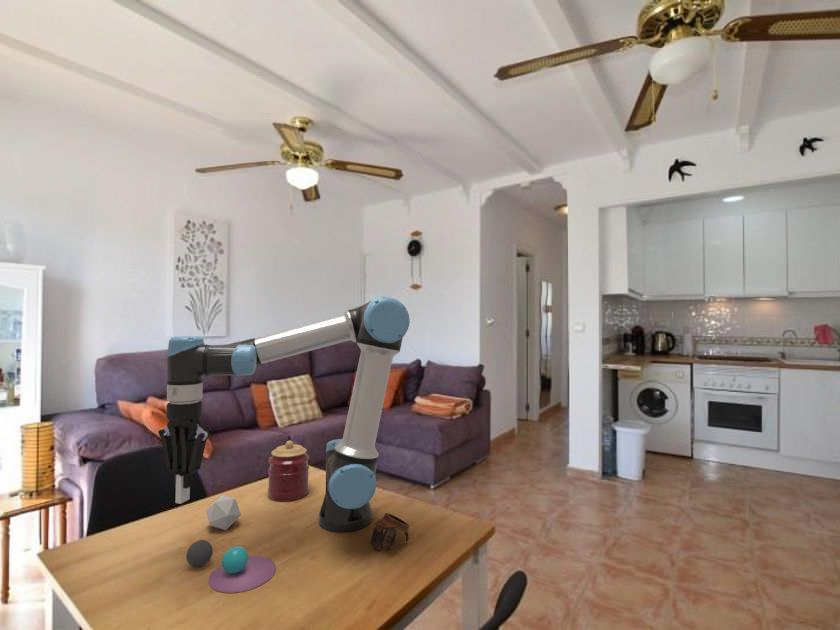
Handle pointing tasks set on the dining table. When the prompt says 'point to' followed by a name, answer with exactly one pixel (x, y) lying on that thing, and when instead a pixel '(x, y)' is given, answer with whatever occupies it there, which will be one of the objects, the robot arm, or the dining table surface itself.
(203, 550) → the dark grey ellipsoid
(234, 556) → the object ball
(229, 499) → the die
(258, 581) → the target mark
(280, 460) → the canister
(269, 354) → the robot arm
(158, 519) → the dining table surface
